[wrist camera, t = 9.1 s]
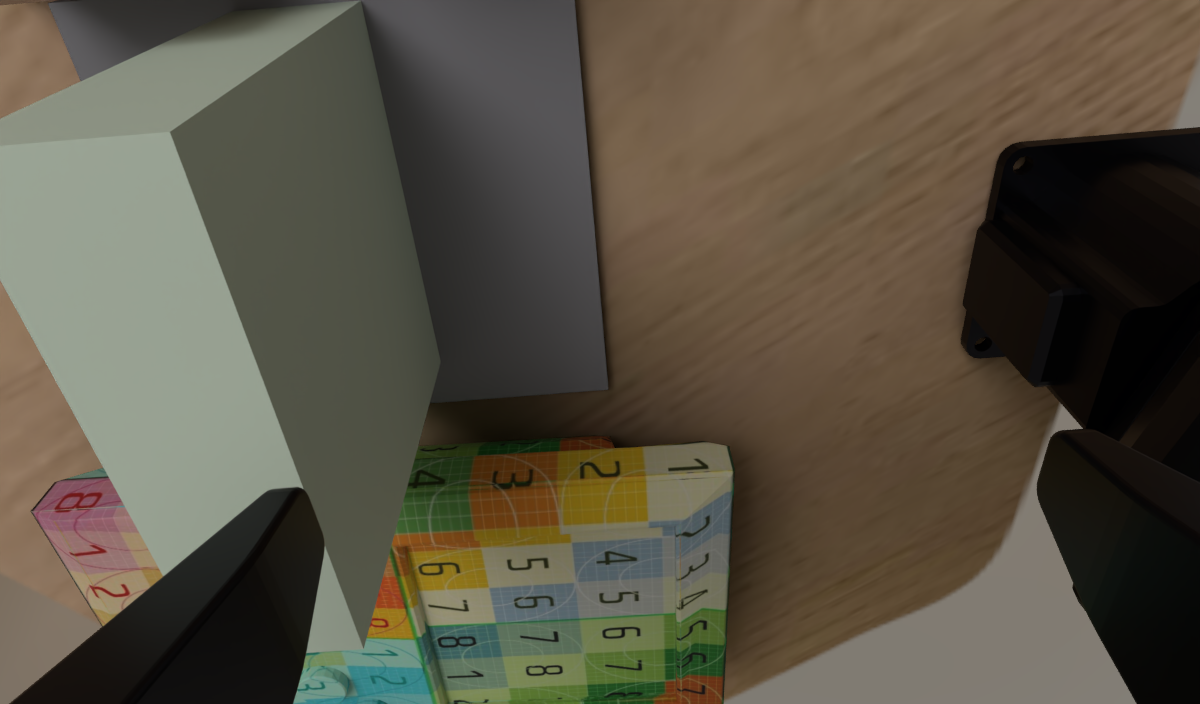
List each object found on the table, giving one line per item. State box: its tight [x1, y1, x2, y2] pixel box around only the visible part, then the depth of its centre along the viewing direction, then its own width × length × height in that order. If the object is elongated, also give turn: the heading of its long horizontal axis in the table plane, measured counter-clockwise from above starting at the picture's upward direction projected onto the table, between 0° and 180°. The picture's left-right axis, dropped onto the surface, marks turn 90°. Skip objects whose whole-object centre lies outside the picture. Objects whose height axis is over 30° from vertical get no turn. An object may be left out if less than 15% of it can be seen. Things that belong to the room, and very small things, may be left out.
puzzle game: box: [31, 436, 735, 704], centre depth 26 cm, size 12×5×20 cm
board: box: [0, 1, 441, 653], centre depth 16 cm, size 3×10×10 cm, turn 4°
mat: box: [48, 0, 608, 403], centre depth 21 cm, size 12×12×1 cm
